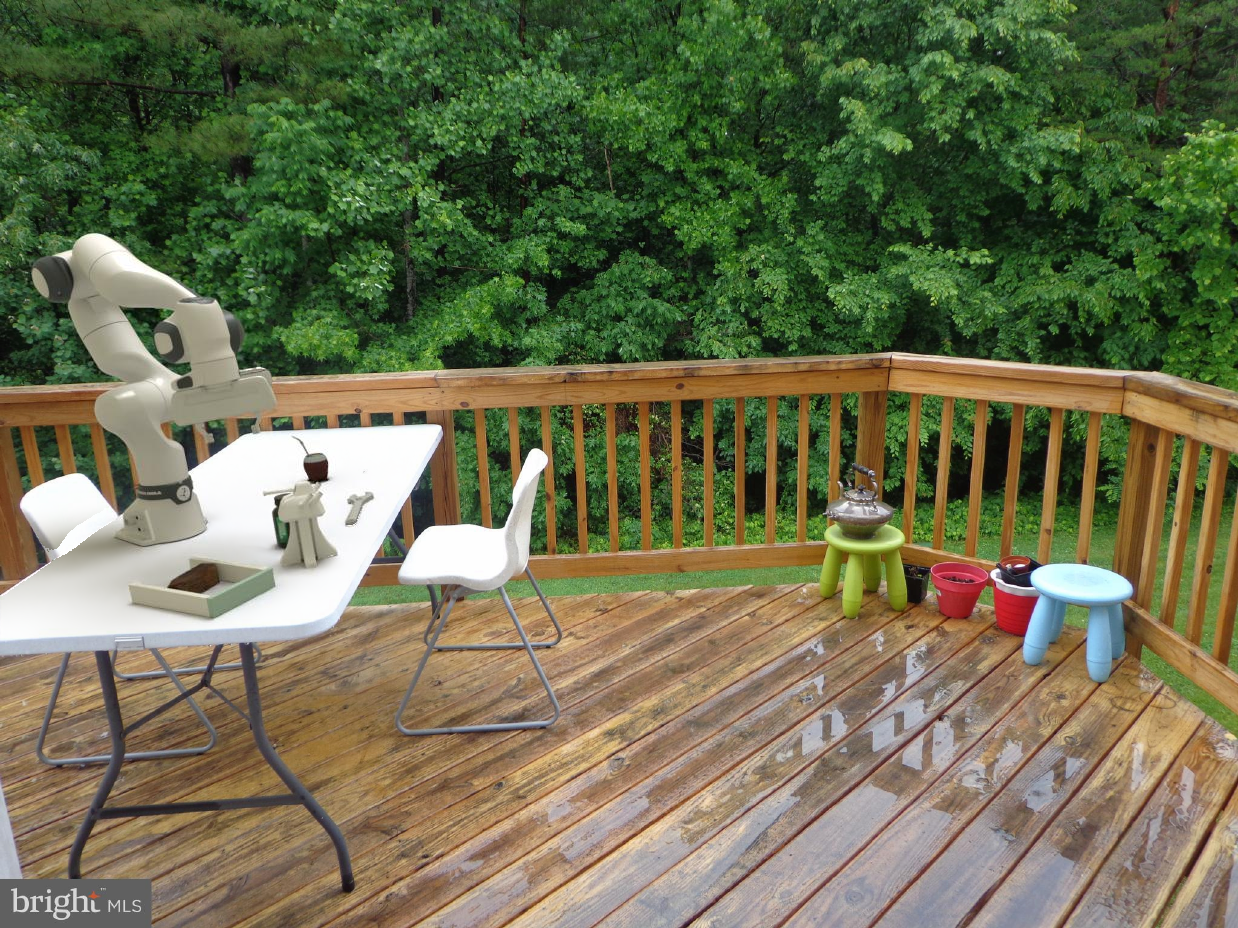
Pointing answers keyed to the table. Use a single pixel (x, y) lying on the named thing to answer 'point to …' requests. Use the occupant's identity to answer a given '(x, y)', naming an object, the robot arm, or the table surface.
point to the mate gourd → (315, 465)
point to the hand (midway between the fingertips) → (233, 438)
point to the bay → (246, 588)
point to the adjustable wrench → (357, 506)
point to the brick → (196, 579)
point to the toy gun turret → (303, 524)
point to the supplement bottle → (280, 524)
